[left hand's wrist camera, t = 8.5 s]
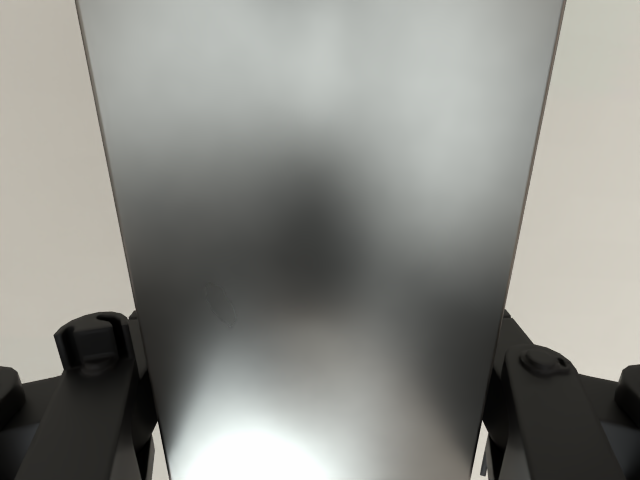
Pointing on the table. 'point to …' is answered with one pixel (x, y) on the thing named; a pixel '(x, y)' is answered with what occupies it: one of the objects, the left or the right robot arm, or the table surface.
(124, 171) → the bar
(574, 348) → the table surface
